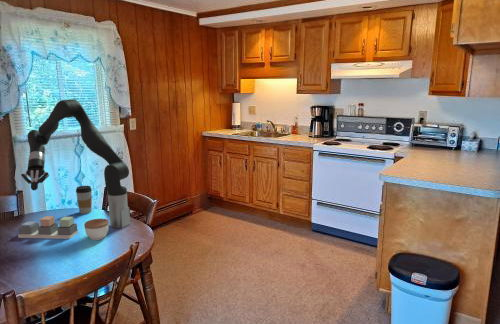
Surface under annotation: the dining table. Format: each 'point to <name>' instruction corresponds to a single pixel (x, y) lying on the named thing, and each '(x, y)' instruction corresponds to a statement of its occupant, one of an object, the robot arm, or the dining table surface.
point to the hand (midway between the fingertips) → (34, 189)
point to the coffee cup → (84, 199)
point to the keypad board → (48, 231)
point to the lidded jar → (96, 228)
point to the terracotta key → (47, 221)
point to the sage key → (66, 221)
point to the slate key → (28, 224)
